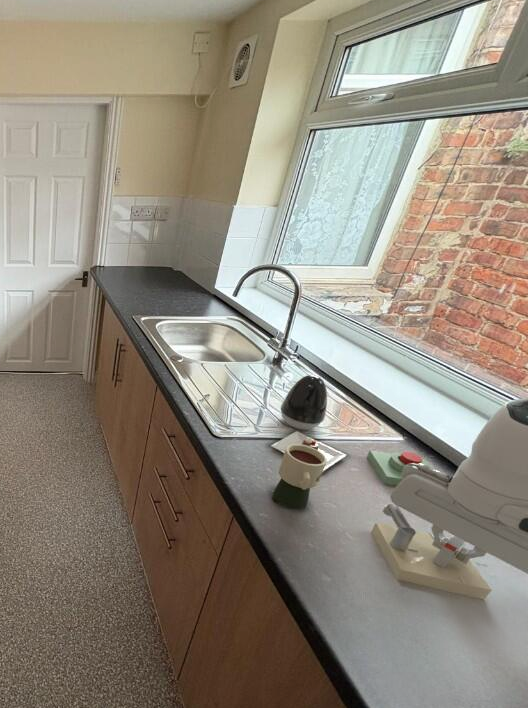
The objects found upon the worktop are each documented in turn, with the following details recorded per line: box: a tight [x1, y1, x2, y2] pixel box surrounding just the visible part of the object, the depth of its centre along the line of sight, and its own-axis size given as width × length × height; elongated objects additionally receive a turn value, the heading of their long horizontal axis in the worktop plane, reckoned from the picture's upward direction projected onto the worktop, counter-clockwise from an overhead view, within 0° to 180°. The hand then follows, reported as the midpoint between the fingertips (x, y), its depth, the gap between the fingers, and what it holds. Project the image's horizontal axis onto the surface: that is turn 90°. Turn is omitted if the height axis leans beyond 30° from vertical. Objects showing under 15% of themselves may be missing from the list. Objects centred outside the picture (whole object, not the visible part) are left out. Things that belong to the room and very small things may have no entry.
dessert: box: [270, 430, 347, 471], centre depth 103 cm, size 12×12×5 cm
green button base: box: [366, 449, 434, 487], centre depth 96 cm, size 11×10×4 cm
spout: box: [382, 503, 417, 551], centre depth 77 cm, size 2×8×5 cm, turn 161°
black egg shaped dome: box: [280, 374, 328, 431], centre depth 112 cm, size 10×10×15 cm
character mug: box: [272, 444, 327, 510], centre depth 87 cm, size 11×7×13 cm, turn 157°
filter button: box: [399, 451, 423, 467], centre depth 95 cm, size 4×4×2 cm
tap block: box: [371, 522, 492, 600], centre depth 74 cm, size 14×11×4 cm
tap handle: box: [433, 534, 467, 569], centre depth 72 cm, size 7×2×4 cm, turn 120°
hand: (450, 553), depth 73 cm, fingers closed, pressing on tap handle
